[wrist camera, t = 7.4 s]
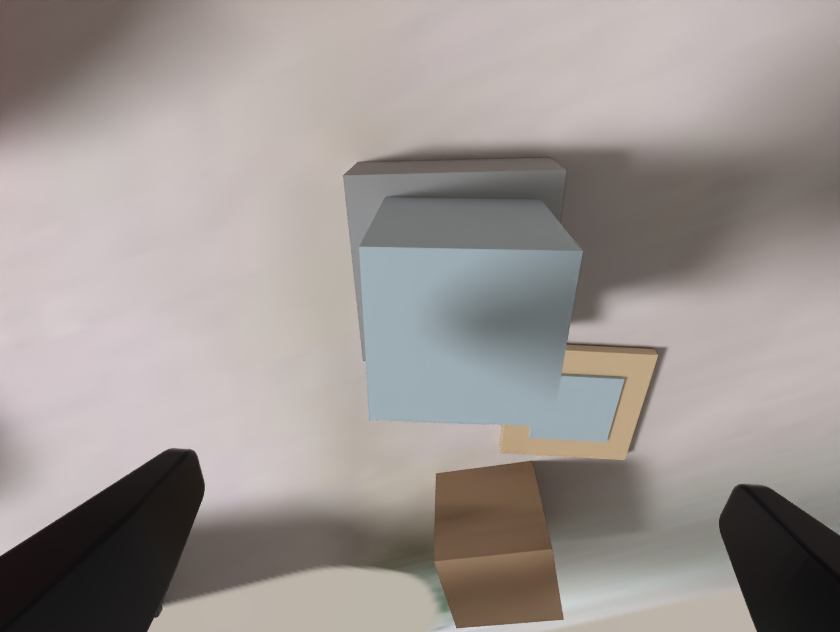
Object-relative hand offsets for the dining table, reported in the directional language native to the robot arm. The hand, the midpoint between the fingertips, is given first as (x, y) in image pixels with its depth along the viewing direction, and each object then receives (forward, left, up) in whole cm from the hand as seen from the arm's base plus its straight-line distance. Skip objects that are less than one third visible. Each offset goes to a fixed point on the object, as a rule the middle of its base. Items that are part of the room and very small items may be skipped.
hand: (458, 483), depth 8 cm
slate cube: (0, 0, -9) cm, 9 cm away
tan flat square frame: (-7, -6, -12) cm, 15 cm away
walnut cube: (-14, -3, -12) cm, 19 cm away
